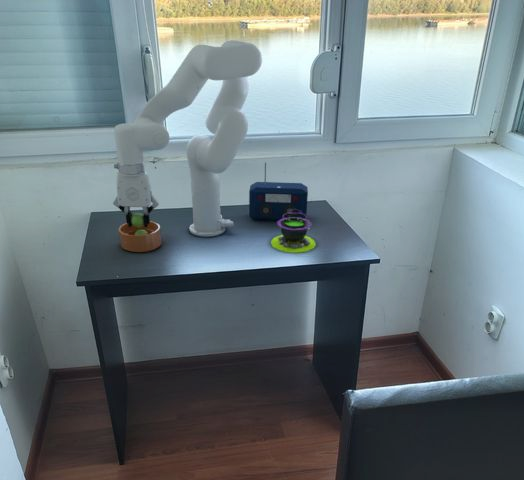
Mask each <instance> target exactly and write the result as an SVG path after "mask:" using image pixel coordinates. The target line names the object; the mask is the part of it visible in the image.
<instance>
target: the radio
mask: <svg viewBox="0 0 524 480" xmlns="http://www.w3.org/2000/svg"><path fill="white" fill-rule="evenodd" d="M248 191H249V193H248V196H249V197H248V203H249V204H248V208H249V209H248V210H249V211H248V217H249V218H250V219H252V220H253V221H259V222H263V221H264V222H279V221H280V220H281V222H283V221H282V219H283V218H285V219H286V218H287V217H288V218H289V217H290V218H292V217H294V218H296V217H297V218H298V217H299V218H301V219H305V218H306V216H307V212H308V211H307V210H308V196H309V189H308V186H307V185H305V184H303V183H301V182H279V181H277V182H276V181H267V162H264V181H255V182H254V183H252V184H250V186H249V190H248ZM293 209H294V210H293ZM295 209H296V210H295ZM299 210H300V211H299ZM289 211H290V212H292V214H291V213H290V212H289ZM296 212H297V213H296ZM301 212H302V213H301ZM299 213H300V214H299ZM284 214H285V215H284ZM304 214H305V215H304ZM283 215H284V216H283ZM289 215H290V216H289ZM306 219H307V218H306ZM306 219H305V220H306ZM283 220H284V219H283Z"/></svg>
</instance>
